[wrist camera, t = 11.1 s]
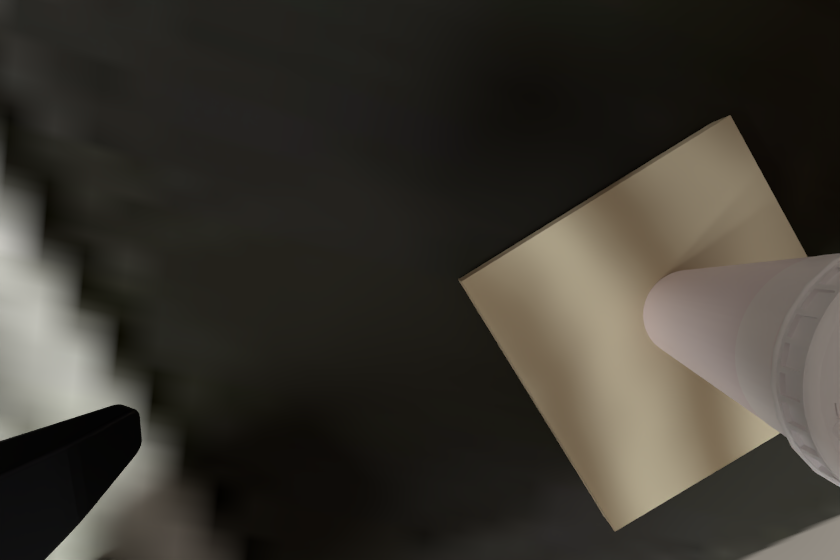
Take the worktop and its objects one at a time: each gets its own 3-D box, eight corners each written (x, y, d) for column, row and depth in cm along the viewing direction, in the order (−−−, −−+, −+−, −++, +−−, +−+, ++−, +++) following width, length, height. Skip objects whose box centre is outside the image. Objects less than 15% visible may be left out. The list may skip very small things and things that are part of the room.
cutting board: (603, 515, 22) (614, 531, 20) (458, 279, 21) (461, 281, 19) (847, 369, 21) (873, 377, 20) (711, 122, 20) (730, 115, 19)
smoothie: (599, 376, 20) (1041, 689, 6) (625, 226, 19) (1177, 185, 5) (744, 396, 20) (1505, 746, 6) (774, 249, 20) (1675, 264, 6)
